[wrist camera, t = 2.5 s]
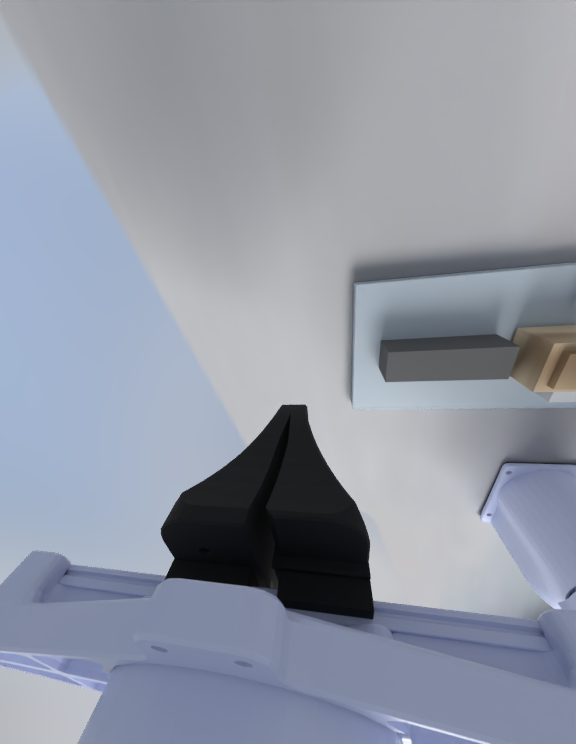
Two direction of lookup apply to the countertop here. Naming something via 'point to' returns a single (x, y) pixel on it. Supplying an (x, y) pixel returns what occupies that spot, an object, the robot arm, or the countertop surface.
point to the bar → (447, 358)
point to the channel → (457, 331)
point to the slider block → (546, 358)
